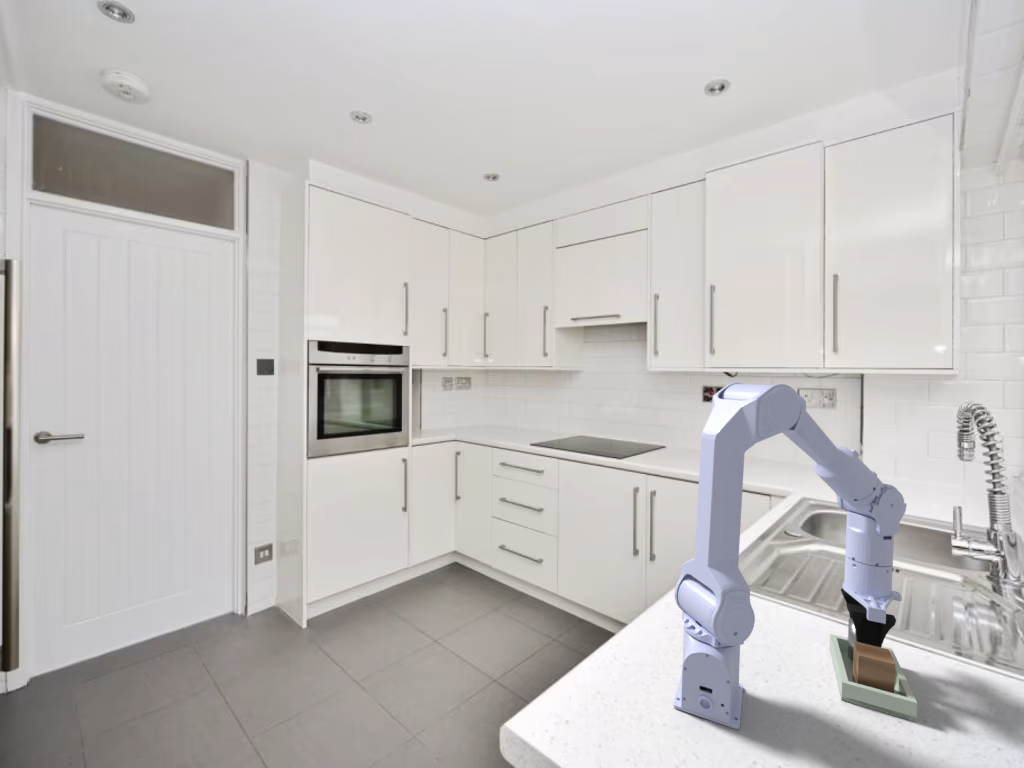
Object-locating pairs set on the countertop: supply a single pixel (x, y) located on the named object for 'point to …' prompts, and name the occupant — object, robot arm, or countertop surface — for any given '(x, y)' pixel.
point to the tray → (869, 697)
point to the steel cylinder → (851, 639)
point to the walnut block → (873, 667)
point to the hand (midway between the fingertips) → (864, 648)
